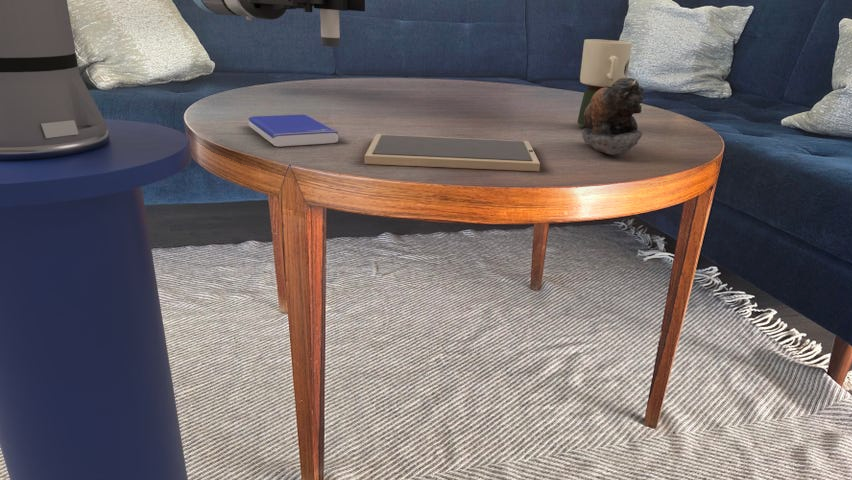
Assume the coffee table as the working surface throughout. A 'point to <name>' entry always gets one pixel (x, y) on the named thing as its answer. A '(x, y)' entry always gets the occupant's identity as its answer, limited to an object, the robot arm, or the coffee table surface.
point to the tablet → (452, 153)
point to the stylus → (330, 27)
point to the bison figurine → (614, 117)
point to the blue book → (292, 130)
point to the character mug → (602, 67)
